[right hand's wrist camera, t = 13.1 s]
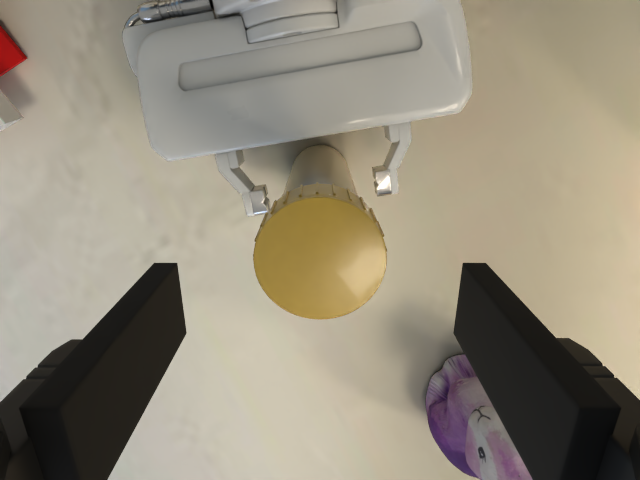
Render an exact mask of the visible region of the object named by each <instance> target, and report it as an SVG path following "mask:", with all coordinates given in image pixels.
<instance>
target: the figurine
mask: <svg viewBox="0 0 640 480" xmlns="http://www.w3.org/2000/svg"><path fill="white" fill-rule="evenodd" d="M426 410H427V416H428V423H429V427H430V431H431V433H432V436H433V438H434V439H435V441H436V443H437V444H438V446H439V448H440V449H441V451H442V452H443V453H444V455H445V456H446V457H447V459H448V460H449V461H450V462H451V463H452V464H453V465H454V466H456V467H457V468H458V469H460V470H461V471H462V472H463V473H465V474H467V475H469V476H473V477H476V478H480V479H481V480H533V479H532V477H531V475H530V474H529V472H528V470H527V468H526V466H525V464H524V462H523V461H522V459H521V457H520V455H519V453H518V451H517V450H516V448H515V446H514V444H513V442H512V440H511V438H510V437H509V435H508V433H507V431H506V429H505V427H504V425H503V424H502V422H501V420H500V418H499V416H498V414H497V413H496V411H495V409H494V407H493V405H492V403H491V401H490V400H489V398H488V396H487V394H486V392H485V390H484V389H483V387H482V385H481V383H480V381H479V379H478V377H477V376H476V374H475V372H474V370H473V368H472V366H471V364H470V363H469V361H468V359H467V357H466V355H465V354H464V355H456V356H452V357H451V358H448V359H447V360H446V361H445V364H444V365H443V368H442V369H441V370H440V371H439V372H436V373H435V374H434V375H433V376H432V377H431V380H430V382H429V386H428V390H427V394H426Z"/></svg>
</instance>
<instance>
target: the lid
mask: <svg viewBox="0 0 640 480" xmlns="http://www.w3.org/2000/svg"><path fill="white" fill-rule="evenodd" d="M383 237H384V234H383V232H382V229H381V227H380V225H379V222H378V221H377V220H376V217H375V215H374V212H373V210H372V208H369V207H368V206H367V205H366V204H365V202H364V201H363V198H362V197H360V198H359V197H358V196H357V195H355V194H354V193H352V192H350V189H348V188H347V189H344V188H342V187H339V186H335V184H333V183H332V185H331V184H319V182H316V184H310V185H305V186H303V185H300V187H298V188H296V189H294V190H291V191H290V192H289V191H287V192H286V194H285V195H283V196H282V197H281V198H280V199H279V200H278V201H276V200H275V201H274V203H273V206H272V208H271V209H270V210H269V212H268V213H267V212H266V214H265V216H264V218H263V221H262V223H261V225H260V229H259V231H258V233H257V236H256V238H255V242H256V243H255V248H254V254H253V257H254V258H253V260H254V269H255V273H256V276H257V279H258V281H259V283H260V285H261V287H262V289H263V290H264V292H265V293H266V294H267V296H268V297H269V298H270V299H271V300H272V301H273V302H274V303H276V304H277V305H278V306H279V307H281V308H282V309H284V310H286V311H288V312H290V313H292V314H294V315H297V316H300V317H304V318H309V319H331V318H336V317H340V316H343V315H346V314H348V313H351V312H353V311H354V310H356V309H358V308H359V307H361V306H362V305H364V304H365V303H366V302H367V301H368V300H369V299H370V298H371V297H372V296H373V295H374V293H375V292H376V290H377V289H378V287H379V286H380V284H381V282H382V279H383V277H384V273H385V269H386V264H387V253H386V252H387V249H386V246H385V243H384V239H383Z"/></svg>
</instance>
